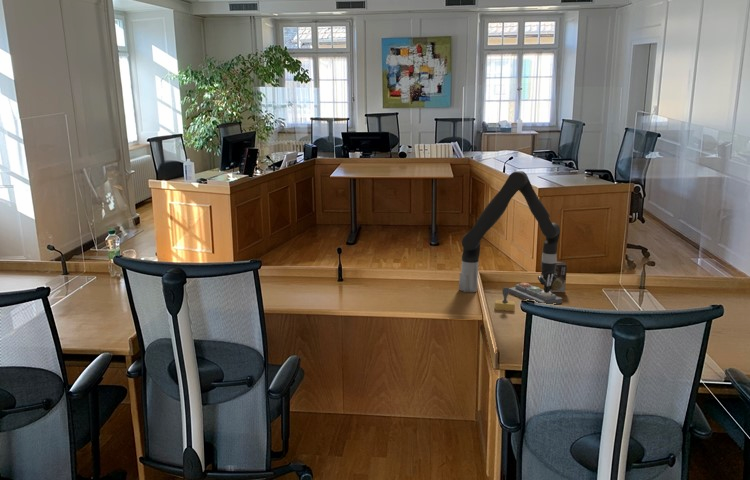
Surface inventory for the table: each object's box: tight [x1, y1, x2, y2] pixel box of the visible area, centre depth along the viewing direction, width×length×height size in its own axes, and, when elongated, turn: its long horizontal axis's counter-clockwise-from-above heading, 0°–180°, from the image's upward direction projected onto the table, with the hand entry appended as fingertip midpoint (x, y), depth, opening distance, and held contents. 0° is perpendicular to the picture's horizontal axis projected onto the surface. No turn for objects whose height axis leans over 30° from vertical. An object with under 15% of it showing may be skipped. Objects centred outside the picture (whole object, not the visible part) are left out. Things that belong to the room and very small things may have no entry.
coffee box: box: [550, 261, 568, 293], centre depth 347 cm, size 9×6×16 cm
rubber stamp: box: [494, 286, 516, 312], centre depth 319 cm, size 10×6×12 cm, turn 77°
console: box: [508, 283, 563, 305], centre depth 337 cm, size 14×26×4 cm, turn 30°
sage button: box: [531, 286, 541, 292], centre depth 336 cm, size 5×5×2 cm
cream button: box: [541, 291, 552, 297], centre depth 329 cm, size 5×5×2 cm
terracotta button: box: [519, 282, 531, 288], centre depth 343 cm, size 5×5×2 cm
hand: (546, 292), depth 329 cm, fingers closed
